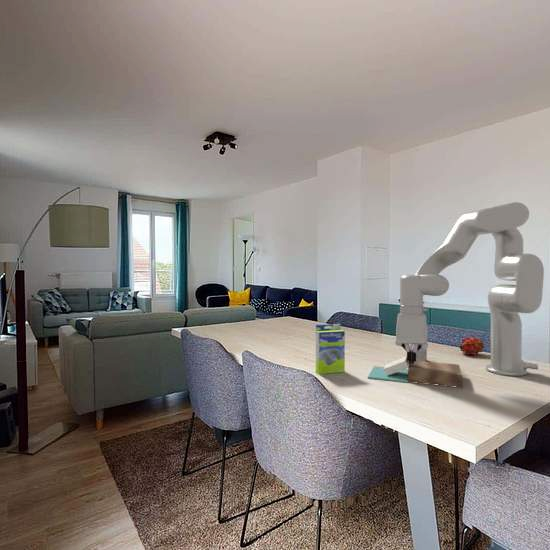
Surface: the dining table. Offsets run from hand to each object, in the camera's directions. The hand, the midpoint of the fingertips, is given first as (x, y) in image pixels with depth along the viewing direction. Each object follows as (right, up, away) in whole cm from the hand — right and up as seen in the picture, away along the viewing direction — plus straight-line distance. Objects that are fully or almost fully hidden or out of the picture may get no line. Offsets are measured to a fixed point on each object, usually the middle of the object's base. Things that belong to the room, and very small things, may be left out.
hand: (411, 363), depth 127 cm
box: (-27, -5, +7) cm, 29 cm away
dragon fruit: (+38, -4, +31) cm, 49 cm away
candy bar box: (+10, -5, +20) cm, 23 cm away
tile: (-4, -3, +1) cm, 5 cm away
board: (+7, -5, -3) cm, 9 cm away
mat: (-7, -5, +3) cm, 9 cm away
